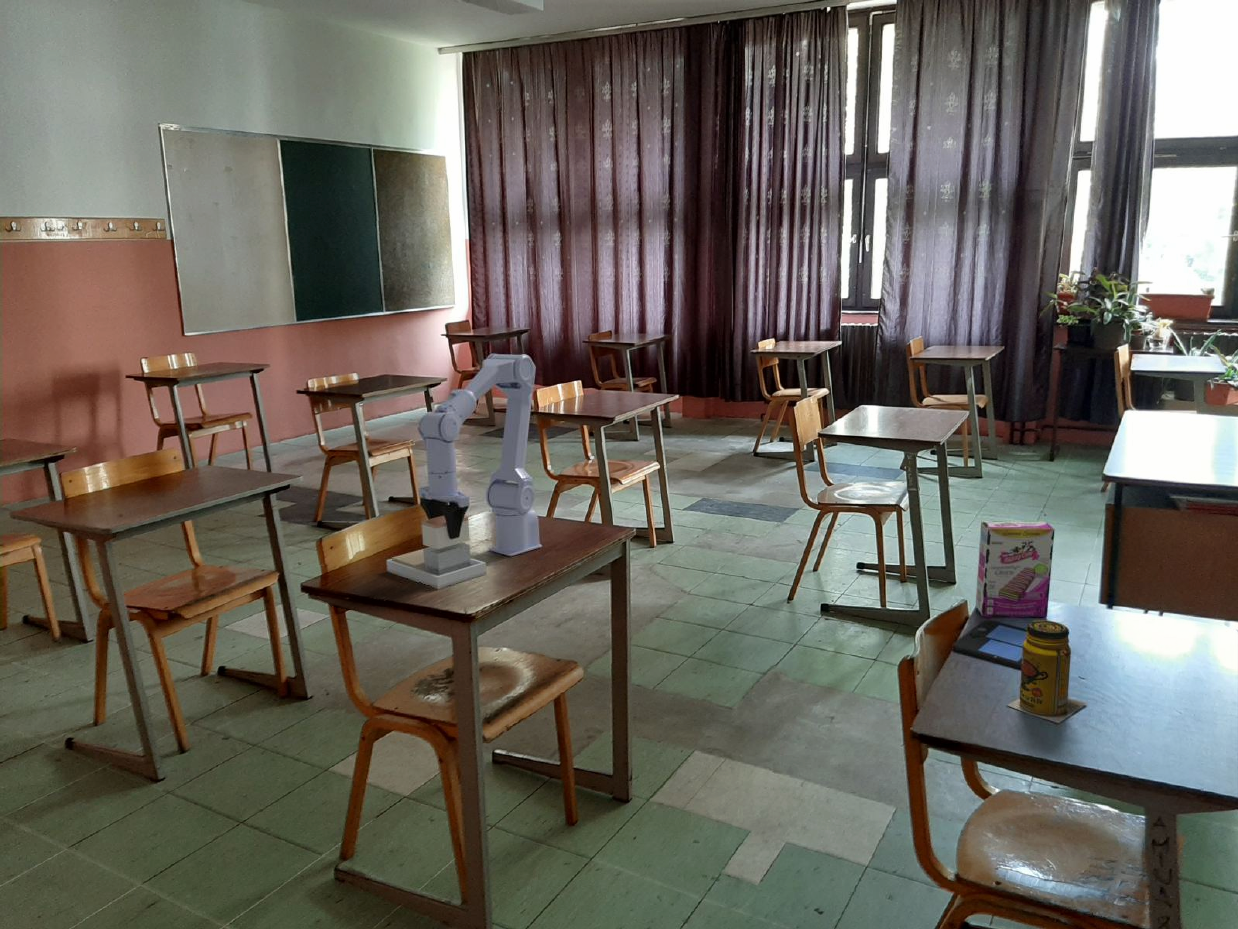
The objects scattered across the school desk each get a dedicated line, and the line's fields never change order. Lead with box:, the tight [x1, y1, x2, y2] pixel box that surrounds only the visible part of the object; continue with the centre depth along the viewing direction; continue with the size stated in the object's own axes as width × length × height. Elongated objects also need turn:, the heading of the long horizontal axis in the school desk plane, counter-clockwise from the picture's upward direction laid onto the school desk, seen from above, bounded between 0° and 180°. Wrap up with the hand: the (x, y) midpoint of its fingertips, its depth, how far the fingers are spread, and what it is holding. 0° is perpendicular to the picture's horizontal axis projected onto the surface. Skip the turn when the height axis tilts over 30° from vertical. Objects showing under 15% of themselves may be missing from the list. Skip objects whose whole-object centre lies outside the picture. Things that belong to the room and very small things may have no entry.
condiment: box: [1006, 619, 1088, 724], centre depth 127 cm, size 7×8×12 cm
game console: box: [951, 620, 1027, 671], centre depth 147 cm, size 14×13×2 cm
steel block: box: [422, 542, 471, 576], centre depth 191 cm, size 8×5×6 cm, turn 137°
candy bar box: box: [975, 520, 1056, 618], centre depth 161 cm, size 11×5×16 cm, turn 84°
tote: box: [385, 547, 487, 590], centre depth 194 cm, size 12×18×3 cm
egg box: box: [421, 515, 471, 549], centre depth 189 cm, size 8×5×5 cm, turn 137°
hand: (446, 535), depth 190 cm, fingers closed on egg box, 5 cm apart
